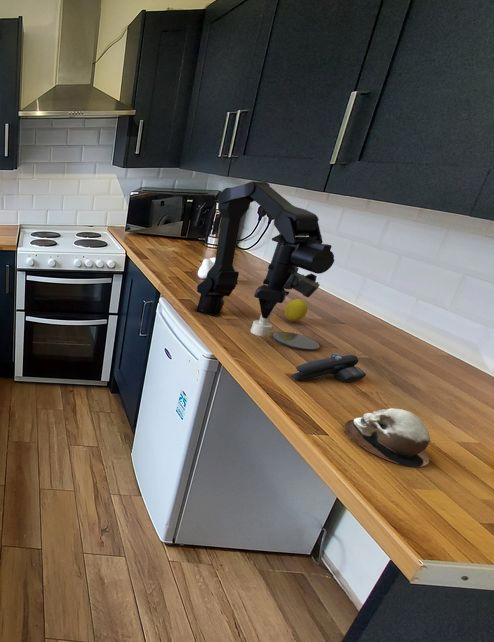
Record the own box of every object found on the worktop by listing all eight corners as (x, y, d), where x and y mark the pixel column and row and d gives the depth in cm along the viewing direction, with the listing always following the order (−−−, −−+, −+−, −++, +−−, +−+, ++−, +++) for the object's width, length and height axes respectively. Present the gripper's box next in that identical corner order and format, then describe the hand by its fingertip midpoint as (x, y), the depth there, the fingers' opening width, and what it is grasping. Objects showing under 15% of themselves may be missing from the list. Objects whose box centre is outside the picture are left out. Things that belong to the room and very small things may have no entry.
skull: (324, 418, 80) (371, 385, 78) (347, 446, 83) (393, 415, 81) (382, 460, 69) (440, 424, 67) (406, 490, 72) (462, 456, 70)
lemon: (295, 319, 131) (304, 296, 127) (306, 326, 126) (315, 302, 122) (277, 317, 131) (285, 295, 128) (287, 324, 126) (296, 301, 123)
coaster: (268, 341, 115) (269, 339, 114) (275, 330, 122) (276, 328, 122) (316, 354, 108) (317, 353, 108) (320, 342, 115) (321, 340, 115)
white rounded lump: (225, 278, 169) (231, 257, 165) (230, 286, 159) (236, 265, 155) (196, 274, 172) (201, 254, 169) (198, 282, 162) (204, 261, 159)
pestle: (248, 333, 112) (261, 294, 108) (252, 328, 115) (264, 290, 111) (267, 338, 109) (281, 299, 105) (270, 333, 113) (284, 295, 108)
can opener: (339, 367, 102) (348, 348, 100) (367, 382, 96) (377, 362, 93) (279, 371, 99) (287, 351, 97) (304, 387, 93) (313, 366, 90)
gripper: (319, 276, 93) (295, 336, 99) (327, 262, 105) (305, 316, 112) (263, 266, 100) (244, 323, 106) (277, 253, 112) (259, 305, 119)
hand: (265, 316), depth 110 cm, fingers closed on pestle, 2 cm apart
